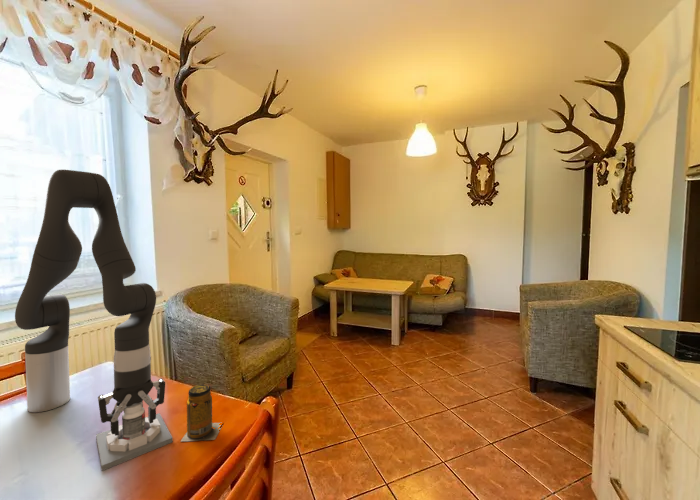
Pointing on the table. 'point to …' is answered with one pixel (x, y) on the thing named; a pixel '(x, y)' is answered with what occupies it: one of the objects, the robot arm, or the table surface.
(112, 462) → the socket board
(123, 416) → the pill bottle
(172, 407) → the table surface
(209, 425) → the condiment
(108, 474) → the table surface
